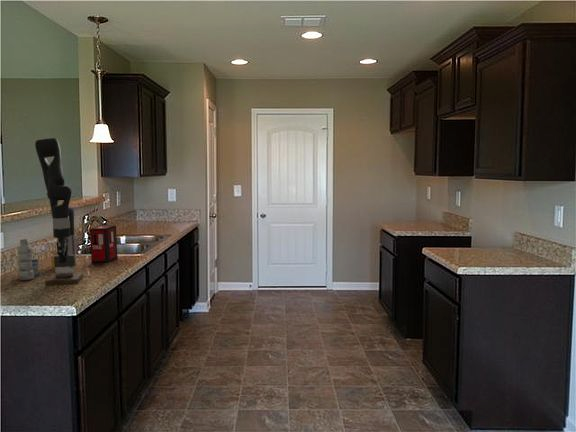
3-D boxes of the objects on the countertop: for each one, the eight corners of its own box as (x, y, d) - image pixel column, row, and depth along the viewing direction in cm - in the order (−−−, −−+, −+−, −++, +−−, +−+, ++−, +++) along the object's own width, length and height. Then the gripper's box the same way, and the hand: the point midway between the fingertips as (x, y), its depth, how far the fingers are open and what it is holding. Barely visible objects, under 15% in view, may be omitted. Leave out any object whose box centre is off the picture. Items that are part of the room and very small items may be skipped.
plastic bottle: (20, 279, 245) (17, 239, 243) (35, 278, 247) (32, 238, 245) (18, 282, 239) (15, 241, 237) (33, 280, 241) (30, 240, 239)
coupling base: (52, 278, 245) (52, 274, 245) (82, 277, 248) (82, 272, 248) (45, 285, 231) (45, 280, 231) (77, 283, 234) (77, 278, 234)
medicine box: (24, 278, 246) (23, 261, 245) (19, 277, 249) (17, 260, 248) (39, 275, 253) (38, 259, 252) (34, 274, 255) (33, 258, 254)
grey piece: (51, 278, 234) (50, 257, 233) (55, 274, 242) (54, 254, 241) (74, 277, 237) (72, 256, 236) (77, 273, 244) (76, 253, 243)
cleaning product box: (102, 258, 299) (101, 225, 297) (117, 258, 299) (115, 225, 297) (91, 263, 283) (89, 229, 281) (107, 263, 283) (105, 228, 281)
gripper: (56, 225, 243) (58, 259, 245) (49, 229, 229) (51, 265, 231) (72, 225, 245) (74, 258, 247) (66, 228, 231) (69, 264, 233)
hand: (63, 261), depth 239 cm, fingers open, 6 cm apart
